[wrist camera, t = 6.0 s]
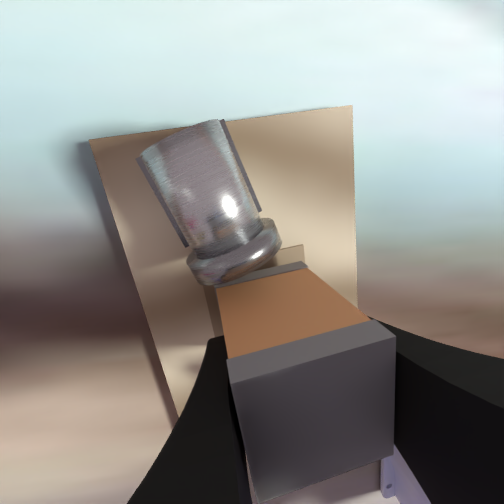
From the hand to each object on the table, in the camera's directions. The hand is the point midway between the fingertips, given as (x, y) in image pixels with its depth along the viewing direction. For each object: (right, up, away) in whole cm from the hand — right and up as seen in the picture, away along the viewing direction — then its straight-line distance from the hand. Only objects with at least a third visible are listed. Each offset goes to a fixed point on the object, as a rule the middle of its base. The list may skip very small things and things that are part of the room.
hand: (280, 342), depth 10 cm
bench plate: (-1, +1, +4) cm, 4 cm away
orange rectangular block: (0, +1, +2) cm, 2 cm away
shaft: (-3, +6, +2) cm, 7 cm away
